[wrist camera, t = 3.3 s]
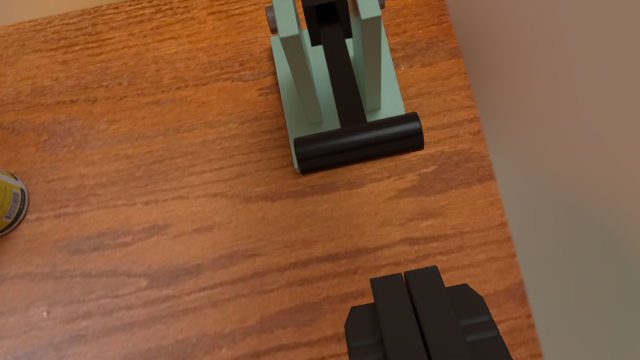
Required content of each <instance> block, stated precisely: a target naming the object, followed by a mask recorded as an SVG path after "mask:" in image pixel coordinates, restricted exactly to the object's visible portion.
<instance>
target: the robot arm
mask: <svg viewBox="0 0 640 360" xmlns="http://www.w3.org/2000/svg"><path fill="white" fill-rule="evenodd" d="M404 279H405V282H404ZM404 279H403V276H402V273H396V274H391V275H387V276H382V277H377V278H372V279H370V283H371V288H372V293H373V297H374V303H369V304H364V305H359V306H354V307H351V309H350V312H349V314H348V317H347V320H346V323H345V325H344V328H345V335H346V342H347V348H348V356H349V360H513V359H512V357H511V355H510V353H509V351H508V349H507V347H506V345H505V342H504V340H503V338H502V336H501V335H500V333H499V330H498V328H497V326H496V324H495V322H494V320H493V319H492V315H491V313H490V311H489V309H488V307H487V305H486V303H485V301H484V299H483V297H482V296H481V295H479V294H478V293H477V292H476V291H474V290H473V289H472V288H471V287H470V286H468V285H467V284H466V283H465V284H460V285H455V286H451V287H445V285H444V282H443V280H442V277H441V275H440V272H439V270H438V268H437V266H436V265H434V266H429V267H424V268H420V269H415V270H410V271H405V272H404Z"/></svg>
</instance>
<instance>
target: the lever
mask: <svg viewBox="0 0 640 360" xmlns="http://www.w3.org/2000/svg"><path fill="white" fill-rule="evenodd" d="M301 2H302V7H303V11H304V16H305V20H306V25H307V29H308V34H309V38H310V42H311V46H312V47H315V46H320V45H322V47H323V51H324V56H325V60H326V65H327V69H328V74H329V78H330V83H331V87H332V92H333V96H334V101H335V105H336V110H337V115H338V119H339V124H340V128H337V129H332V130H328V131H323V132H319V133H314V134H309V135H305V136H300V137H296V138H294V140H293V145H294V151H295V156H296V160H297V165H298V168H299V171H300V174H301V175H303V176H304V175H309V174H314V173H318V172H323V171H327V170H332V169H337V168H341V167H346V166H351V165H355V164H360V163H365V162H369V161H374V160H379V159H383V158H388V157H393V156H397V155H402V154H407V153H411V152H416V151H421V150H423V149H424V135H423V130H422V126H421V122H420V119H419V116H418V114H417V113H416V112H410V113H406V114H401V115H397V116H392V117H387V118H383V119H378V120H374V121H369V122H367V118H366V114H365V111H364V107H363V103H362V100H361V96H360V92H359V88H358V85H357V81H356V77H355V74H354V70H353V66H352V63H351V59H350V55H349V51H348V48H347V44H346V39H351V38H353V33H352V27H351V20H350V14H349V7H348V1H347V0H301Z"/></svg>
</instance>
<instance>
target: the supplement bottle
mask: <svg viewBox="0 0 640 360" xmlns="http://www.w3.org/2000/svg"><path fill="white" fill-rule="evenodd" d="M27 206H28V193H27V190H26V187H25V185H24V184H23V182H22V181H21V180H20V179H19V178H18V177H17V176H15V175H14V174H12V173H10V172H7V171H5V170H2V169H0V235H2V234H5V233H7V232H9V231H10V230H12V229H13V228H14V227H15V226H16V225H17V224H18V223H19V222H20V221H21V220H22V218H23V216H24V215H25V212H26V210H27Z"/></svg>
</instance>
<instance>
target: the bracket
mask: <svg viewBox="0 0 640 360" xmlns="http://www.w3.org/2000/svg"><path fill="white" fill-rule="evenodd" d="M348 2H349V13H350V20H351V27H352V33H353V38H351V39H346V44H347V48H348V51H349V55H350V59H351V63H352V66H353V70H354V74H355V77H356V81H357V85H358V88H359V92H360V96H361V100H362V103H363V107H364V111H365V114H366V118H367V122H369V121H374V120H378V119H383V118H387V117H392V116H397V115H401V114H406V113H405V109H404V105H403V101H402V98H401V94H400V90H399V86H398V82H397V78H396V74H395V70H394V66H393V62H392V58H391V54H390V50H389V46H388V42H387V38H386V34H385V30H384V26H383V22H382V14H381V10H382V9H384V8H385V1H384V0H348ZM272 4H273V6H269V7H266V8H265V10H266V16H267V21H268V25H269V28H270V32H271V34H277V33H278V36H274V37H270V40H271V46H272V51H273V56H274V62H275V67H276V72H277V78H278V83H279V88H280V94H281V99H282V104H283V110H284V115H285V120H286V126H287V131H288V136H289V142H290V147H291V153H292V158H293V163H294V168H295V170H296V172H297V173H300V171H299V168H298V165H297V160H296V156H295V151H294V145H293V140H294V138H296V137H300V136H305V135H309V134H314V133H319V132H323V131H328V130H332V129H337V128H340V124H339V119H338V115H337V110H336V105H335V101H334V96H333V92H332V87H331V83H330V78H329V74H328V69H327V65H326V60H325V56H324V51H323V47H322V45H320V46H315V47H312V46H311V42H310V38H309V34H308V29H304V30H302V26H301V22H300V19H299V15H298V11H297V7H296V3H295V0H272Z"/></svg>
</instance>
